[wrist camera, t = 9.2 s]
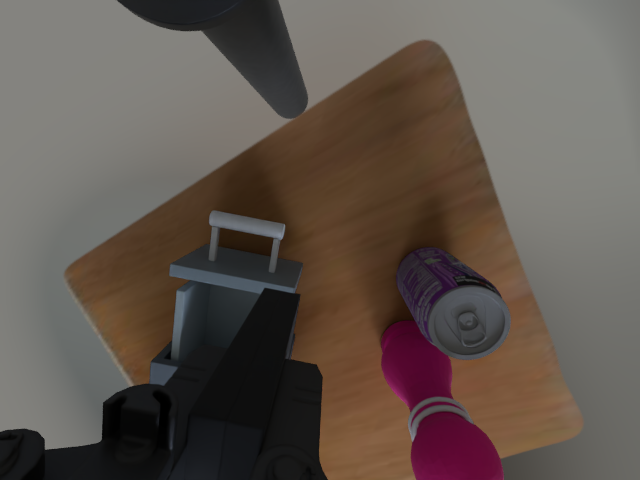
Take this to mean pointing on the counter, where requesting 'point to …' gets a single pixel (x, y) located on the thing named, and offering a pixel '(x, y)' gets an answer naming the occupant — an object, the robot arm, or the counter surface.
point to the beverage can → (452, 304)
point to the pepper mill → (435, 410)
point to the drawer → (225, 284)
